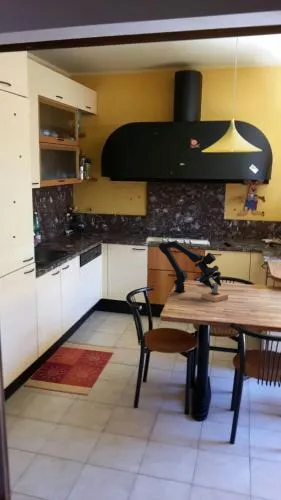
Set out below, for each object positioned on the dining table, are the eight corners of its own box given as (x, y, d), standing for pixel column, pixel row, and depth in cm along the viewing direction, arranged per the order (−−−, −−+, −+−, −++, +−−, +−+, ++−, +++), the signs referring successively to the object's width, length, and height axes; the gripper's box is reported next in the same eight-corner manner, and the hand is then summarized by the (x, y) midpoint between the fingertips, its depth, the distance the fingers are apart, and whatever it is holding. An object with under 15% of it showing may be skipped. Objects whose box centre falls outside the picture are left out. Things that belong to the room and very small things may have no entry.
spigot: (210, 297, 279) (210, 283, 277) (214, 296, 281) (214, 282, 279) (214, 299, 276) (215, 285, 274) (218, 298, 278) (219, 284, 276)
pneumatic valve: (215, 286, 307) (216, 271, 305) (200, 285, 310) (200, 270, 308) (216, 284, 313) (216, 269, 310) (200, 283, 315) (201, 268, 313)
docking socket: (201, 297, 280) (201, 293, 279) (214, 294, 287) (214, 290, 287) (215, 302, 270) (215, 297, 269) (228, 298, 277) (228, 294, 277)
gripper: (202, 263, 270) (215, 283, 265) (219, 260, 283) (232, 278, 277) (193, 273, 278) (205, 292, 272) (210, 269, 290) (222, 287, 284)
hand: (216, 287), depth 276 cm, fingers open, 9 cm apart
